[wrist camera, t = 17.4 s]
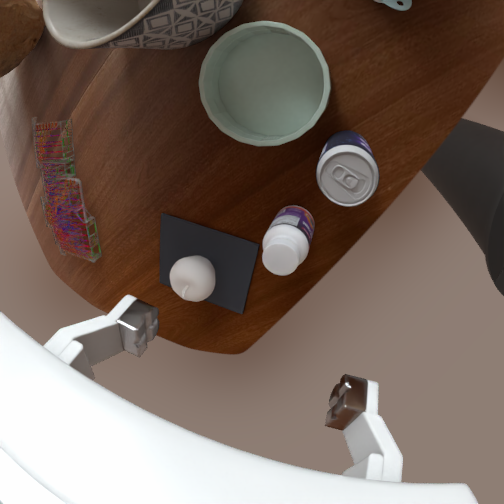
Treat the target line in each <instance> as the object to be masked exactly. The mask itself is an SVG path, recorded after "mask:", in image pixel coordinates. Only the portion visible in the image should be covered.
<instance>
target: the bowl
mask: <svg viewBox="0 0 504 504" xmlns="http://www.w3.org/2000/svg"><path fill="white" fill-rule="evenodd" d="M44 26H45V22H44V17H43V11H42V9H41V8H40V7H39V6H38V4H37V2H36V0H0V78H1V77H2V76H4V75H6V74H7V73H9V72H10V71H12V70H13V69H14V68H15V67H17V66H18V65H19V64H20V63H21V61H22V60H23V59H24V58H25V57H26V56H27V55H28V54H29V53H30V52H31V51H32V50H33V49H34V47H35V46H36V44H37V42H38V40H39V39H40V37H41V35H42V33H43V30H44Z"/></svg>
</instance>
